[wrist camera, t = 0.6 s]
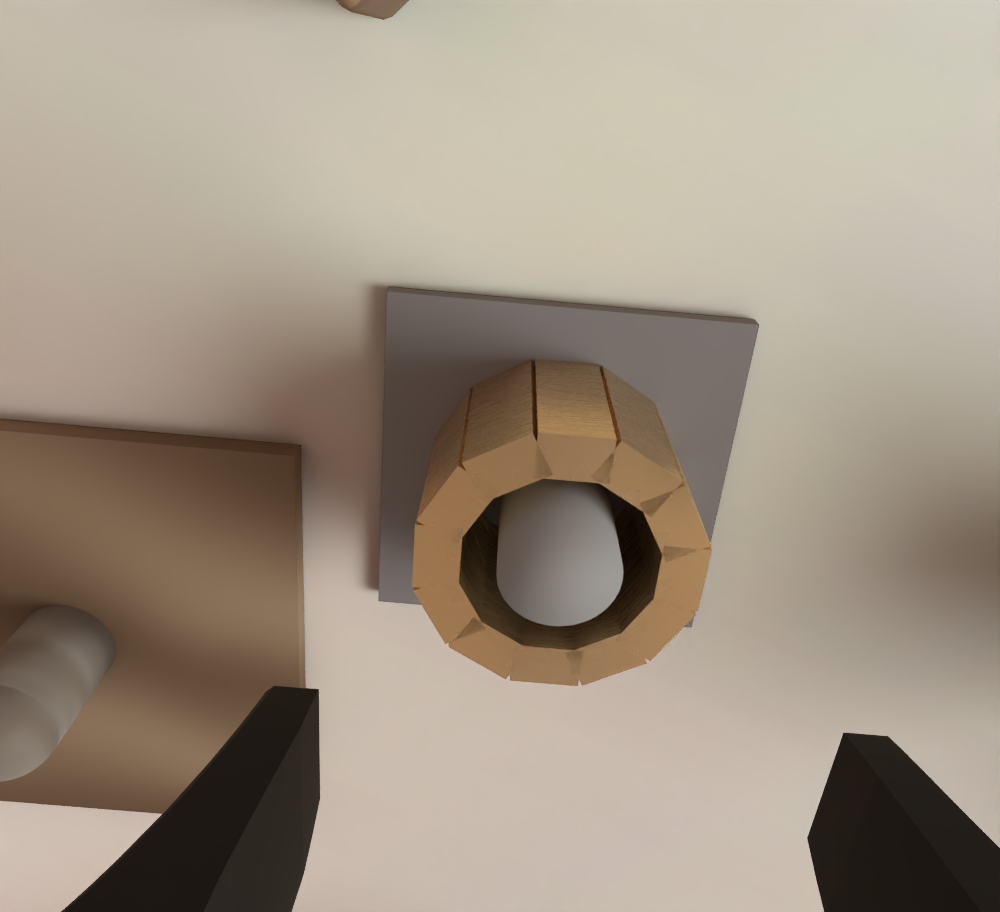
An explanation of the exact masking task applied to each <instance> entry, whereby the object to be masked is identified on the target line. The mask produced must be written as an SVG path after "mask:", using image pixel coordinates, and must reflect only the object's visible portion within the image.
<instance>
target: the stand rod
mask: <svg viewBox="0 0 1000 912" xmlns="http://www.w3.org/2000/svg"><path fill="white" fill-rule="evenodd" d="M758 328H759V324H758V323H757V322H756V321H755V320H754V319H742V318H731V317H720V316H709V315H698V314H687V313H675V312H664V311H653V310H642V309H631V308H620V307H608V306H597V305H586V304H575V303H564V302H553V301H541V300H530V299H519V298H508V297H497V296H486V295H474V294H463V293H452V292H441V291H430V290H419V289H407V288H396V287H389V289H388V290H387V302H386V339H385V376H384V414H383V451H382V488H381V526H380V563H379V600H378V601H383V602H395V603H407V604H419V605H421V603H420V601H419V600H418V598H417V597H416V595H415V593H414V592H413V589H414V587H412V576H413V555H414V534H415V522H416V518H417V513H418V509H419V505H420V500H421V496H422V492H423V487H424V483H425V479H426V474H427V470H428V466H429V461H430V457H431V453H432V448H433V444H434V439H435V437H436V433H437V432H438V431H439V429H440V428H441V426H442V425H443V424H444V422H445V421H446V420H447V418H448V417H449V415H450V414H451V413H452V411H453V410H454V409H455V407H456V406H457V405H458V403H459V402H460V400H461V399H462V398H463V396H464V395H465V394H466V392H467V391H468V389H469V388H470V387H471V388H473V385H474V384H475V383H478V382H480V381H482V380H485V379H487V378H489V377H491V376H494V375H496V374H498V373H501V372H503V371H505V370H508V369H510V368H512V367H514V366H517V365H519V364H521V363H524V362H526V361H528V360H530V359H531V361H532V363H533V365H535V359H545V360H556V361H568V362H579V363H590V364H599V368H601V367H602V366H604V367H605V368H607V369H608V370H610V371H611V372H612V373H614V374H615V375H617V376H618V377H620V378H621V379H623V380H624V381H625V382H627V383H628V384H630V385H631V386H633V387H634V388H636V389H637V390H638V391H640V392H641V393H643V394H644V395H646V396H647V397H649V398H650V399H652V401H653V403H655V405H656V407H657V410H658V412H659V414H660V417H661V419H662V421H663V424H664V426H665V429H666V431H667V433H668V436H669V438H670V440H671V443H672V445H673V448H674V450H675V452H676V455H677V457H678V460H679V463H680V465H681V468H682V471H683V473H684V476H685V478H686V481H687V484H688V486H689V489H690V491H691V494H692V497H693V499H694V502H695V505H696V507H697V510H698V512H699V515H700V518H701V520H702V523H703V526H704V528H705V531H706V533H707V536H708V539H709V541H710V542H711V538H712V533H713V529H714V524H715V520H716V515H717V511H718V506H719V502H720V497H721V493H722V489H723V484H724V480H725V475H726V471H727V466H728V462H729V457H730V453H731V448H732V444H733V439H734V435H735V431H736V426H737V422H738V417H739V413H740V408H741V404H742V399H743V395H744V390H745V386H746V381H747V377H748V373H749V368H750V364H751V359H752V355H753V350H754V346H755V341H756V337H757V332H758ZM628 503H629V502H627V501H626V500H624V499H623V498H621V497H619V496H618V495H616V494H615V493H613V492H612V491H610V490H609V489H607V488H606V487H604V486H603V485H601V484H599V483H590V482H579V481H567V480H556V479H544V478H543V479H541V480H538V481H536V482H533V483H531V484H528V485H526V486H523V487H521V488H518V489H516V490H514V491H511V492H509V493H506V494H504V495H501V496H499V497H496V498H494V499H492V500H491V502H490V503H489V504H488V506H487V507H486V508H485V509H484V513H485V515H486V516H487V518H488V520H489V521H490V522H491V523H493V524H495V525H496V526H498V527H499V532H498V552H497V574H496V577H497V583H498V587H499V590H500V592H501V594H502V596H503V598H504V599H505V601H506V602H507V604H508V605H509V606H510V607H511V608H512V609H513V610H514V611H516V612H517V613H518V614H520V615H521V616H523V617H524V618H526V619H528V620H530V621H533V622H536V623H539V624H543V625H549V626H570V625H575V624H579V623H582V622H585V621H588V620H590V619H592V618H594V617H596V616H597V615H599V614H600V613H602V612H603V611H604V610H605V609H607V608H608V607H609V606H610V605H611V603H612V602H613V601H614V600H615V598H616V596H617V595H618V593H619V590H620V588H621V585H622V581H623V563H622V558H621V553H620V548H619V543H618V537H617V532H616V527H615V522H614V518H615V517H616V516H617V515H618V514H619V513H620V512H621V511H622V509H623V508H624V507H625V506H626V505H627V504H628ZM693 618H694V617H693ZM693 618H692V619H691V620H690V621H689V622H688V623H687V624H686V625H685V626H684V627H692V622H693Z"/></svg>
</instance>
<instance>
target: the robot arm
mask: <svg viewBox="0 0 1000 912" xmlns="http://www.w3.org/2000/svg"><path fill="white" fill-rule="evenodd" d="M319 801H320V765H319V689H308V688H296V687H284V686H273V687H272V688H270V689H269V690H267V691H266V692H265V694H264V695H263V696H262V697H261V699H260V700H259V701H258V703H257V704H256V705H255V707H254V708H253V709H252V711H251V712H250V713H249V714H248V716H247V717H246V718H245V720H244V721H243V722H242V723H241V725H240V726H239V727H238V728H237V730H236V731H235V732H234V733H233V734H232V736H231V737H230V738H229V739H228V741H227V742H226V743H225V744H224V745H223V747H222V748H221V749H220V750H219V751H218V752H217V754H216V755H215V756H214V757H213V758H212V760H211V761H210V762H209V763H208V764H207V765H206V766H205V768H204V769H203V770H202V771H201V772H200V773H199V774H198V775H197V777H196V778H195V779H194V780H193V781H192V782H191V783H190V784H189V786H188V787H187V788H186V789H185V790H184V791H183V792H182V793H181V794H180V796H179V797H178V798H177V799H176V800H175V801H174V802H173V803H172V804H171V806H170V807H169V808H168V809H167V810H166V811H165V812H164V813H163V814H162V815H161V816H160V817H159V818H158V819H157V820H156V821H155V822H154V823H153V824H152V825H151V826H150V827H149V828H148V829H147V830H146V831H145V832H144V833H143V834H142V835H141V836H140V837H139V838H138V839H137V840H136V842H135V843H134V844H133V845H132V846H131V847H130V848H129V849H128V850H127V851H126V852H125V853H124V854H123V855H122V856H121V857H120V858H119V859H118V860H117V861H116V862H115V863H114V864H113V865H112V866H111V867H109V868H108V869H107V870H106V871H105V872H104V873H103V874H102V875H101V876H100V877H99V878H98V879H97V880H96V881H95V882H94V883H93V884H91V885H90V886H89V887H88V888H87V889H86V890H85V891H84V892H83V893H82V894H81V895H79V896H78V897H77V898H76V899H75V900H74V901H73V902H72V903H71V904H69V905H68V906H67V907H66V908H65V909H64V910H63V911H61V912H291V911H292V908H293V905H294V902H295V899H296V896H297V893H298V890H299V887H300V884H301V881H302V877H303V874H304V870H305V866H306V861H307V857H308V852H309V848H310V843H311V839H312V834H313V829H314V824H315V820H316V815H317V810H318V805H319ZM808 843H809V848H810V852H811V857H812V861H813V866H814V871H815V875H816V880H817V884H818V888H819V892H820V896H821V900H822V904H823V908H824V912H1000V848H999V847H998V846H997V845H996V844H995V843H994V842H993V841H992V840H991V839H990V838H989V837H988V836H987V835H986V834H985V833H984V832H983V831H982V830H981V829H980V828H979V827H978V826H977V825H976V824H975V823H974V822H973V821H972V820H971V819H970V818H969V817H968V816H967V815H966V814H965V813H964V812H963V811H962V810H961V809H960V808H959V807H958V806H957V805H956V804H955V803H954V802H953V801H952V800H951V799H950V798H949V797H948V796H947V795H946V794H945V793H944V792H943V791H942V790H941V789H940V788H939V787H938V786H937V785H936V784H935V783H934V781H933V780H932V779H931V778H930V777H929V776H928V775H927V774H926V773H925V772H924V771H923V770H922V769H921V768H920V767H919V766H918V765H917V764H916V763H915V762H914V761H913V760H912V759H911V758H910V757H909V756H908V755H907V754H906V753H905V752H904V751H903V750H902V749H901V748H900V747H899V746H897V745H896V744H895V743H894V742H893V741H892V740H891V739H890V738H889V737H888V736H878V735H866V734H853V733H843V736H842V739H841V742H840V745H839V748H838V751H837V754H836V756H835V759H834V762H833V765H832V768H831V771H830V774H829V777H828V780H827V783H826V785H825V788H824V791H823V794H822V797H821V800H820V803H819V806H818V809H817V812H816V815H815V817H814V820H813V823H812V826H811V829H810V832H809V835H808Z"/></svg>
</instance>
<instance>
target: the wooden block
mask: <svg viewBox="0 0 1000 912" xmlns="http://www.w3.org/2000/svg"><path fill="white" fill-rule="evenodd" d="M337 1H338V3H339V4H340V5H341V6H342V7H344V8H345V9H347V10H349V11H351V12H354V13H358V14H362V15H366V16H370V17H375V18H379V19H383V20H384V19H387V18H390V17H392V16H393V15H394V14H395V13H396V12H397V11H398V10H399V9H400V8H402V7H403V6H404V5H405V4H406V3H407V2H408V1H409V0H337Z"/></svg>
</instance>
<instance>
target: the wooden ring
mask: <svg viewBox="0 0 1000 912" xmlns="http://www.w3.org/2000/svg"><path fill="white" fill-rule="evenodd" d="M543 478H544V479H556V480H567V481H579V482H590V483H599V484H601V485H603V486H604V487H606V488H607V489H609V490H610V491H612V492H613V493H615V494H616V495H618V496H619V497H621V498H623V499H624V500H626V501H627V502H629V503H628V504H627V505H626V506H625V507H624V508H623V509H622V511H621V512H620V513H619V514H618V515H617V516H616V517H615V518H614V522H615V527H616V532H617V537H618V543H619V548H620V553H621V558H622V563H623V581H622V585H621V588H620V590H619V593H618V595H617V596H616V598H615V600H614V601H613V602H612V603H611V605H610V606H609V607H608V608H607V609H605V610H604V611H603V612H602V613H600V614H599V615H597V616H596V617H594V618H592V619H590V620H588V621H585V622H582V623H579V624H575V625H570V626H549V625H543V624H539V623H536V622H533V621H530V620H528V619H526V618H524V617H523V616H521V615H520V614H518V613H517V612H516V611H514V610H513V609H512V608H511V607H510V606H509V605H508V604H507V602H506V601H505V599H504V598H503V596H502V594H501V592H500V590H499V587H498V583H497V577H496V574H497V552H498V532H499V527H498V526H496V525H495V524H493V523H491V522H490V521H489V520H488V518H487V516H486V515H485V513H484V509H485V508H486V507H487V506H488V504H489V503H490V502H491V500H492V499H494V498H496V497H499V496H501V495H504V494H506V493H509V492H511V491H514V490H516V489H518V488H521V487H523V486H526V485H528V484H531V483H533V482H536V481H538V480H541V479H543ZM710 546H711V544H710V541H709V539H708V536H707V533H706V531H705V528H704V526H703V523H702V520H701V518H700V515H699V512H698V510H697V507H696V505H695V502H694V499H693V497H692V494H691V491H690V489H689V486H688V484H687V481H686V478H685V476H684V473H683V471H682V468H681V465H680V463H679V460H678V457H677V455H676V452H675V450H674V448H673V445H672V443H671V440H670V438H669V436H668V433H667V431H666V429H665V426H664V424H663V421H662V419H661V417H660V414H659V412H658V410H657V407H656V405H655V403H653V401H652V399H650V398H649V397H647V396H646V395H644V394H643V393H641V392H640V391H638V390H637V389H636V388H634V387H633V386H631V385H630V384H628V383H627V382H625V381H624V380H623V379H621V378H620V377H618V376H617V375H615V374H614V373H612V372H611V371H610V370H608V369H607V368H605V367H604V366H602V367H601V368H599V364H590V363H579V362H568V361H556V360H545V359H535V365H533V363H532V361H531V359H530V360H528V361H526V362H524V363H521V364H519V365H517V366H514V367H512V368H510V369H508V370H505V371H503V372H501V373H498V374H496V375H494V376H491V377H489V378H487V379H485V380H482V381H480V382H478V383H475V384H474V385H473V388H471V387H470V388H469V389H468V391H467V392H466V394H465V395H464V396H463V398H462V399H461V400H460V402H459V403H458V405H457V406H456V407H455V409H454V410H453V411H452V413H451V414H450V415H449V417H448V418H447V420H446V421H445V422H444V424H443V425H442V426H441V428H440V429H439V431H438V432H437V433H436V437H435V439H434V444H433V448H432V453H431V457H430V461H429V466H428V470H427V474H426V479H425V483H424V487H423V492H422V496H421V500H420V505H419V509H418V513H417V518H416V522H415V534H414V555H413V576H412V587H414V589H413V592H414V593H415V595H416V597H417V598H418V600H419V601H420V603H421V605H422V606H423V608H424V610H425V611H426V613H427V615H428V616H429V618H430V619H431V621H432V623H433V624H434V626H435V628H436V629H437V631H438V633H439V634H440V636H441V637H442V639H443V641H444V642H445V644H446V643H449V647H450V648H452V649H453V650H455V651H457V652H459V653H460V654H462V655H464V656H466V657H467V658H469V659H471V660H473V661H474V662H476V663H478V664H480V665H482V666H483V667H485V668H487V669H489V670H490V671H492V672H494V673H496V674H497V675H499V676H501V677H503V678H504V679H506V678H507V677H508V676H509V675H510V680H511V681H523V682H535V683H547V684H559V685H571V686H578V681H579V680H580V682H581V684H582V685H585V684H588V683H591V682H594V681H597V680H600V679H602V678H605V677H608V676H611V675H614V674H617V673H620V672H623V671H626V670H629V669H631V668H634V667H637V666H640V665H643V664H646V659H648V660H649V661H651V660H652V659H653V658H654V657H655V656H656V655H657V654H658V653H659V652H660V651H661V650H662V648H663V647H664V646H665V645H666V644H667V643H668V642H669V641H670V640H671V639H672V638H673V637H674V636H675V635H676V634H677V633H678V632H679V631H680V630H681V629H682V628H683V627H684V626H685V625H686V624H687V623H688V622H689V621H690V620H691V619H692V618H693V617H694V616H695V615H696V614H695V611H698V608H699V604H700V599H701V595H702V590H703V586H704V581H705V577H706V573H707V568H708V564H709V559H710V555H711V547H710ZM645 658H646V659H645Z"/></svg>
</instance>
